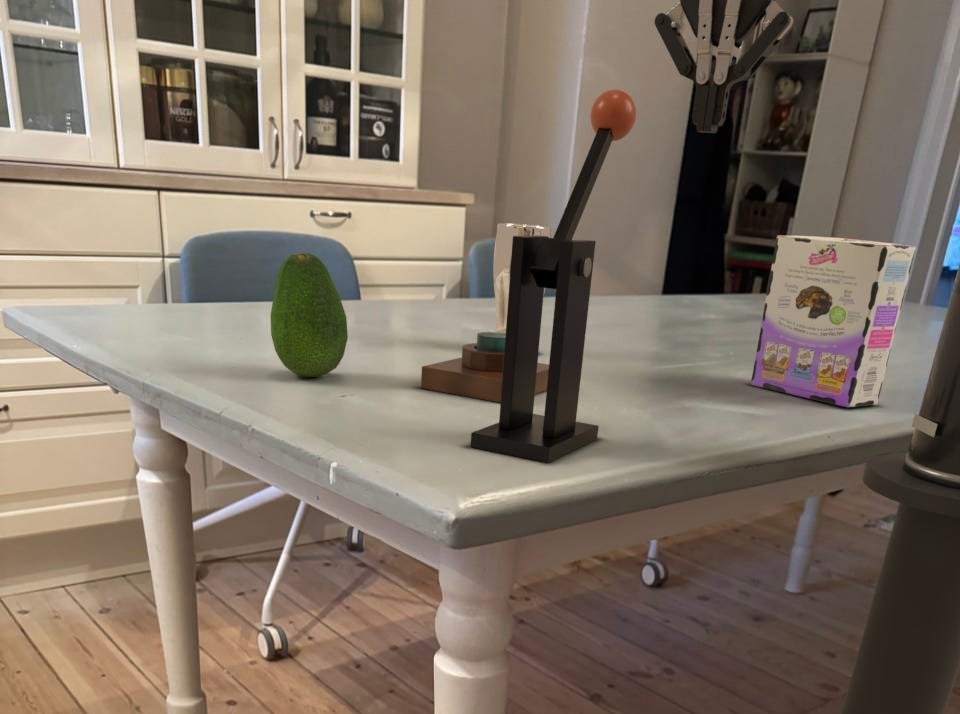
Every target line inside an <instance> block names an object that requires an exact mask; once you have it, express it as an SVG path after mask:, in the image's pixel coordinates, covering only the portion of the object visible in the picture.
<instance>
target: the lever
mask: <svg viewBox="0 0 960 714" xmlns="http://www.w3.org/2000/svg"><path fill="white" fill-rule="evenodd" d="M589 118H590V124H591V128H592V130H593V132H594V133H595V136H594V138H593V140H592V143H591V145H590V148H589V150H588V153H587V155H586V157H585V160H584V162H583V165H582V167H581V168H580V169H581V170H580V172H579V175H578V177H577V180H576V182H575V184H574V186H573V189H572V192H571V194H570V196H569V198H568V201H567V204H566V206H565V209H564V210H563V213H562V216H561V218H560V221H559V223H558V226H557V228H556V230H555V233H554V235H553V237H551V238H545V237H542V238H541V241H540V243H539V246H538V248H537V250H536V253H535V255H534V258H533V260H532V262H531V265H530V270H531V272H532V275H533V277H534V279H535V282H536V284H537V286H538V287H541V288H545V289H550V290H556V287H557V277H558V266H559V255H560V245H561V241H565V240H573V239H574V235H575V233H576V231H577V229H578V226H579V223H580V221H581V218H582V216H583V213H584V211H585V208H586V206H587V204H588V202H589V198H590V196H591V194H592V191H593V189H594V187H595V184H596V182H597V179H598V177H599V175H600V172H601V170H602V167H603V164H604V163H605V159H606V157H607V155H608V153H609V150H610V148H611V145H612V142H617V141H620V140H622V139H624V138H626V136H628V135H629V133H630V132H631V131H632V130H633V127H634V125H635V123H636V119H637V109H636V105H635V102H634V100H633V98H632V97H631V96H630V95H629V94H628V93H627V92H625V91H624V90H621V89H617V88H616V89H614V88H613V89H609V90H606V91H604V92H602V93H601V94H600V95H598V97H597V98H596V99H595V100H594V102H593V104H592V106H591V111H590V117H589Z"/></svg>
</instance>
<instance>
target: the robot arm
mask: <svg viewBox="0 0 960 714" xmlns="http://www.w3.org/2000/svg"><path fill="white" fill-rule="evenodd" d="M685 17H686V20H687V21H688V24H689V26H690V28H691V31H692V33H693V35H694V36H695V38H696V50H695V51H696V56H697V58H696V61H695V58H694V57H693V55H692V52H691V50H690V48H689V46H688V43H686V40H685V39H684V36H683V35H682V34H683V33H684V32H685V28H686V23H685ZM764 17H765V18H764ZM763 19H764V20H763ZM761 21H762V24H761V29H762V32H761V33H760V35H759V36H758V37H757V38H756V40H754V42H752V45H750V46H749V48H748V49H747V51H746V52H745V53H744V54H743V55H742V50H743V46H744V42H745V41H746V40H747V39H748V38H749V37H750V36H751V34H752V33H753V32H754V30H755V29H756V28H757V27H758V25H760V23H761ZM654 26H655V28H656V31H657V32H658V34H659V36H660V38H661V40H662V42H663V44H664V46H665V48H666V50H667V51H668V55H670V58H671V60H672V61H673V63H674V65H675V67H676V69H677V71H678V74H679V75H680V76H682V77H685V78H687V79H689V80H690V81H692V82H693V83H694V85H695V91H694V100H693V106H692V113H691V121H692V125H695V126H696V127H695V130H696V132H698V133H703V134H704V133H705V134H706V133H707V134H717V132H718V129H719V128H718V127H722V126H724V123H725V121H726V116H727V110H728V104H729V97H730V93H731V89H732V87H733V86H734V85H735V84H736V83H739V82H742V81H749V80H751V79H752V77H753V76H754V75H755V74H756V73H757V72H758V70H759V69H760V68H761V67H762V65H763V64H765V62H766V61H767V60H768V59H769V57H770V56H771V55H772V54H773V53H774V51H775V50H776V49H777V48H778V46H779V45H781V43H782V42H783V41H784V40H785V38H786V37H787V36H788V35H789V34H790V32H792V31H793V29H794V27H795V19H794V17H792V16H791V14H789V13H788V12H786V11H784V10H783V8H781V6H779V4H778V3H777V2H776V0H679V1H678V2H677V3H676V4H675V5H674V6H672V7H671V8H670V9H669V10H668V11H667V12H666V13H664V12H660V13H658V14H657V15H656V16H655V17H654ZM741 55H742V57H741ZM911 427H912V428H914V430H913V434H912V437H911V440H910V442H909V445H908V452H906V453H907V455H906V458H905V462H904V465H903V468H904V470H905V471H906V472H908V473H909V474H911V475H913V476H915V477H917V478H919V479H922V480H925V481H928V482H931V483H934V484H938V485H942V486H946V487H951V488H955V489H960V263H959V265H958V268H957V272H956V276H955V280H954V283H953V285H952V290H951V294H950V297H949V301H948V305H947V308H946V312H945V315H944V320H943V323H942V327H941V331H940V333H939V337H938V342H937V346H936V349H935V352H934V356H933V360H932V364H931V367H930V371H929V374H928V378H927V381H926V385H925V389H924V393H923V397H922V400H921V404H920V408H919V412H918V414H917V413H914V415H913V420H912V422H911Z"/></svg>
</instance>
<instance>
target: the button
mask: <svg viewBox="0 0 960 714" xmlns="http://www.w3.org/2000/svg"><path fill="white" fill-rule="evenodd" d="M505 337H506V334H505V333H497V332H495V331H481V332H478V333H477V335H476V343H477V349H478V350H483V351H491V352H504V351H505Z"/></svg>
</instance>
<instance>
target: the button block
mask: <svg viewBox="0 0 960 714" xmlns="http://www.w3.org/2000/svg"><path fill="white" fill-rule="evenodd" d="M461 348H462V349H461V350H462V351H461V357H458V358H453V359H449V360H444V361H439V362H436V363H431V364H427V365H423V366H421V380H420V388H421V389H423V390H429V391H434V392H440V393H445V394H451V395H457V396H462V397H468V398H473V399H479V400H485V401H489V402H490V401H491V402H494V403H495V402H496V403H500V404H501V392H502V378H503V364H504V352H491V351H483V350H478V349H477V342H475V343H474V342H473V343H467V344H462V347H461ZM548 372H549V363H543V362H538V363H537V374H536V385H535V395H537V394H539V393H543V392H545V391H546V392H547V382H548Z"/></svg>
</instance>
